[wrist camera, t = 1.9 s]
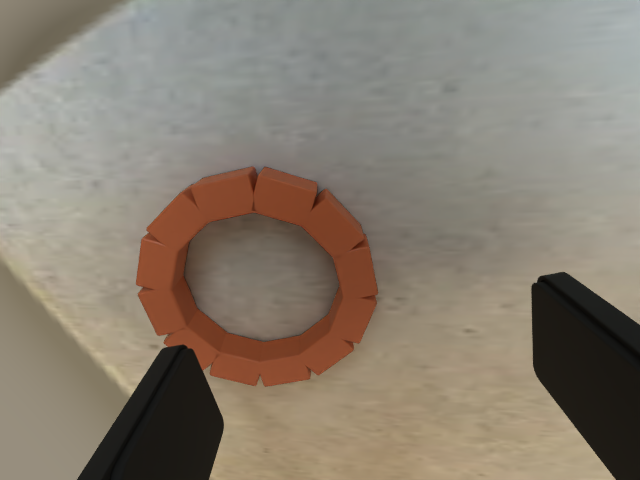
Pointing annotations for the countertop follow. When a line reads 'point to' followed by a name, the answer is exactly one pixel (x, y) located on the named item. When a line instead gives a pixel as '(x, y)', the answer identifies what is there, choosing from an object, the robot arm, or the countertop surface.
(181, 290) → the ring
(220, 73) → the countertop surface
